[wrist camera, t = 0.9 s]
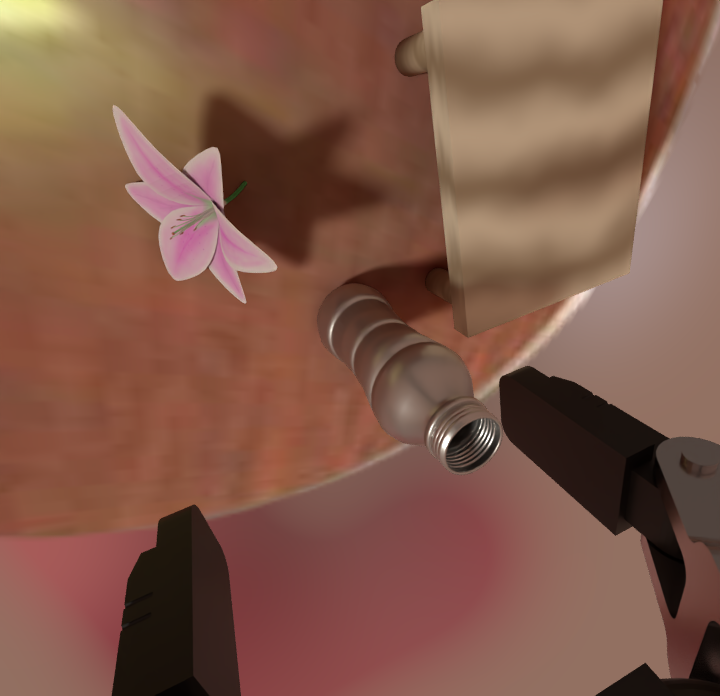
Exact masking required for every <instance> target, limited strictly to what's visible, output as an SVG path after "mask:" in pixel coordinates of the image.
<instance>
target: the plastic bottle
mask: <svg viewBox="0 0 720 696" xmlns="http://www.w3.org/2000/svg"><path fill="white" fill-rule="evenodd" d="M317 326H318V331H319V335H320V338H321V341H322V343H323V345H324V346H325V348H326V349H327V350H328V351H329V352H330V353H331V354H332V355H334V356H335V357H336V358H338V359H339V360H341V361H342V362H344V363H345V365H346V366H347V367H348V368H349V369H350V370H351V371H352V372H353V373H354V375H355V376H356V378H357V379H358V381H359V383H360V384H361V386H362V388H363V389H364V392H365V394H366V396H367V399H368V401H369V403H370V406H371V408H372V410H373V413H374V415H375V417H376V418H377V420H378V422H379V424H380V426H381V427H382V429H383V430H384V431H385V432H386V433H387V434H389V435H390V436H392V437H393V438H395V439H397V440H398V441H400V442H402V443H405V444H409V445H416V446H426V448H427V450H428V451H429V452H430V453H431V455H433V457H434V458H436V459H438V460H439V461H440V462H441V463H442V465H443V466H444V467H445V468H446V469H447V470H448V471H449V472H451V473H453V474H457V475H465V474H469V473H472V472H474V471H476V470H478V469H480V468H481V467H483V466H484V465H485V464H487V463H488V461H490V460H491V459H492V457H493V456H494V455H495V453H496V452H497V450H498V448H499V446H500V444H501V441H502V437H503V428H502V425H501V423H500V422H499V421H498V419H497V418H496V417H495V416H494V415H493V414H491V413H490V412H489V411H488V410H487V408H486V407H485V406H484V404H482V403H481V402H480V401H479V400H477V399H476V398H474V394H473V386H472V379H471V376H470V373H469V371H468V369H467V367H466V365H465V363H464V362H463V360H462V359H461V357H460V356H459V355H458V354H456V353H455V352H454V351H452V350H451V349H449V348H448V347H446V346H444V345H442V344H440V343H438V342H436V341H434V340H432V339H430V338H428V337H426V336H424V335H422V334H420V333H418V332H417V331H416V330H414V329H413V328H411V327H410V326H408V325H407V324H405V323H404V322H403V321H402V320H401V319H400V318H399V317H398V315H397V314H396V313H395V312H394V311H393V309H392V307H391V306H390V304H389V303H388V302H387V300H386V299H385V298H384V296H383V295H382V294H381V293H380V292H379V291H377V290H376V289H374V288H372V287H369V286H366V285H363V284H358V283H350V284H346V285H343V286H340V287H338V288H337V289H335V290H333V291H332V292H331V293H330V294H329V295H328V296H327V297H326V298H325V300H324V301H323V303H322V305H321V307H320V309H319V312H318V317H317Z"/></svg>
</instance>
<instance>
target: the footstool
mask: <svg viewBox="0 0 720 696" xmlns="http://www.w3.org/2000/svg"><path fill="white" fill-rule="evenodd" d="M662 5H663V0H433V1H431V2H429V3H428V4H426V5H424V6H422V7H421V13H422V22H423V31H421V32H419V33H417V34H415V35H412V36H410V37H408V38H406V39H404V40H402V41H401V42H400V43H399V45H398V46H397V48H396V52H395V63H396V66H397V68H398V70H399V72H400V73H401V74H403V75H404V76H408V77H411V76H415V75H418V74H422V73H425V72H428V79H429V89H430V98H431V108H432V118H433V127H434V137H435V146H436V156H437V165H438V175H439V184H440V194H441V204H442V213H443V223H444V232H445V242H446V251H447V261H448V270H449V272H448V271H446V270H444V269H441V268H436V269H433V270H432V271H430V272H429V274H428V275H427V277H426V281H425V284H426V288H427V289H428V290H429V291H430V292H432V293H433V294H435V295H437V296H439V297H440V298H442V299H444V300H445V301H447V302H449V303H450V304H452V309H453V318H454V328H455V329H456V330H457V331H459V332H460V333H462V334H463V335H465V336H466V337H468V338H469V337H471V336H474V335H476V334H479V333H481V332H484V331H486V330H489V329H491V328H494V327H496V326H499V325H501V324H504V323H506V322H509V321H511V320H514V319H516V318H519V317H521V316H524V315H526V314H529V313H531V312H534V311H536V310H539V309H541V308H544V307H546V306H549V305H551V304H554V303H556V302H559V301H561V300H564V299H566V298H569V297H571V296H574V295H576V294H579V293H581V292H584V291H586V290H589V289H591V288H594V287H596V286H599V285H601V284H604V283H606V282H609V281H611V280H614V279H616V278H619V277H621V276H624V275H626V274H629V273H630V264H631V256H632V248H633V240H634V231H635V224H636V216H637V208H638V200H639V192H640V183H641V175H642V167H643V159H644V151H645V143H646V135H647V127H648V119H649V111H650V102H651V94H652V86H653V78H654V70H655V62H656V54H657V46H658V38H659V29H660V21H661V13H662Z"/></svg>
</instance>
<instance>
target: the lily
mask: <svg viewBox="0 0 720 696" xmlns="http://www.w3.org/2000/svg"><path fill="white" fill-rule="evenodd" d="M113 114H114V118H115V122H116V125H117V128H118V131H119V134H120V137H121V140H122V143H123V145H124V147H125V150H126V152H127V154H128V157H129V159H130V161H131V163H132V165H133V167H134V168H135V170H136V172H137V174H138V175H139V176H140V178H141V179H142V180H143V181H144V182H136V183H130V184H127V185H125V188H126V189H127V191H128V193H129V194H130V195H131V197H132V198H133V199H134V200H135V201H136V202H137V203H138V204H139V205H140V206H141V207H142V208H143V209H144V210H146V211H147V212H148V213H149V214H150V215H151V216H152V217H154V218H155V219H157V220H158V221H159V222H161V225H160V229H159V245H160V250H161V254H162V258H163V260H164V263H165V266H166V268H167V270H168V272H169V274H170V275H171V276H172V277H173V279H175V280H178V281H181V280H186V279H189V278H192V277H194V276H196V275H199V274H200V273H201V272H203V271H204V270H205V269H206V268H207V266H208V267H209V269H210V270H211V272H212V273H213V274H214V275H215V277H216V278H217V279H218V280H219V281H220V282H221V283H222V284H223V285H224V286H225V287H226V288H227V289H228V290H229V291H230V292H231V293H232V294H233V295H234V296H235V297H236V298H238V299H239V300H240V301H241V302H243V303H245V304H246V299H245V295H244V292H243V289H242V286H241V283H240V280H239V277H238V274H237V271H236V270H238V271H242V272H251V273H268V272H272V271H275V270H276V269H277V266H276V264H275V263H274V261H273V260H272V259H271V258H270V257H269V256H267V255H266V254H265V253H264V252H263V251H262V250H261V249H259V248H258V247H257V246H256V245H255V244H254V243H252V242H251V241H250V240H249V239H248V238H247V237H245V236H244V235H243V234H242V233H241V232H240V231H238V230H237V229H236V228H235V227H234V226H233V225H232V224H231V223H230V222H229V221H228V220H227V219H226V217H225V214H224V206H225V205H226V204H228V203H229V202H230V201H232V200H233V199H234V198H235V197H236V196H237V195H238V194H239V193H240V192H241V191H242V190H243V189H244V187H245V186H246V185H247V182H246V181H244V182H243V183H242V184H241V185H240V186H239V188H238V189H237V190H236V191H235V192H234V193H233V194H232V195H230V196H229V197H228V198H226V199H224V200H223V184H222V170H221V159H220V153H219V151H218V148H216V147H211V148H208V149H206V150H204V151H203V152H201V153H199V154H198V155H196V156H195V157H194V158H193V159H191V160H190V161H189V162H188V163H187V164H186V166H185V167H184V169H183V172H182V173H181V172H180V171H179V170H178V169H177V168H176V167H175V166H173V165H172V164H171V163H170V162H169V161H168V160H167V159H166V158H165V157H164V156H163V155H162V154H161V153H160V152H159V151H158V150H157V149H155V148H154V147H153V145H152V144H151V143H150V142H149V141H148V140H147V139H146V138H145V136H144V135H143V134H142V133H141V132H140V131H139V130H138V129H137V127H136V126H135V125H134V124H133V123H132V122H131V120H130V119H129V118H128V117H127V116H126V115H125V114H124V113H123V112H122V111H121V110H120V109H119V108H118V107H117V106H115V105H113Z"/></svg>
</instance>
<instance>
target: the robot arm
mask: <svg viewBox="0 0 720 696" xmlns="http://www.w3.org/2000/svg"><path fill="white" fill-rule="evenodd" d="M499 387H500V405H501V422H502V426H503V429H504V431H505V433H506V435H507V437H508V438H509V440H510V441H511V442H512V443H513V444H514V445H515V446H516V447H517V448H519V449H520V450H521V451H522V452H523V453H524V454H525V455H526V456H527V457H528V458H530V459H531V460H532V461H533V462H534V463H535V464H536V465H537V466H538V467H540V468H541V469H542V470H543V471H544V472H545V473H546V474H547V475H549V476H550V477H551V478H552V479H553V480H554V481H555V482H557V484H559V485H560V486H561V487H562V488H563V489H564V490H565V491H566V492H567V493H569V494H570V495H571V496H572V497H573V498H574V499H575V500H576V501H577V502H579V503H580V504H581V505H582V506H583V507H584V508H585V509H586V510H588V511H589V512H590V513H591V514H592V515H593V516H594V517H595V518H597V519H598V520H599V521H600V522H601V523H602V524H603V525H604V526H605V527H607V528H608V529H609V530H610V531H611V532H612V533H613V534H614V535H615V536H616V535H618V534H619V533H621V532H623V531H625V530H627V529H629V528H630V527H632V526H633V527H634V528H636V529H637V530H638V531H639V532H640V533H641V540H640V541H641V546H642V549H643V553H644V556H645V560H646V563H647V567H648V570H649V574H650V577H651V581H652V584H653V587H654V591H655V594H656V598H657V601H658V605H659V608H660V612H661V615H662V618H663V622H664V625H665V630H666V637H667V656H668V664H669V670H670V675H671V678H669V679H659V677H658V676H657V675H656V674H655V673H654V672H653V671H652V670H651V669H650V667H649V666H648V665H647V664H646V663H644V664H643V665H641V666H640V667H638V668H637V669H635V670H634V671H632V672H631V673H629V674H628V675H626V676H624V677H623V678H621V679H620V680H618V681H617V682H615V683H614V684H612V685H611V686H609V687H608V688H606V689H605V690H603V691H602V692H600V693H598V694H597V695H596V696H720V445H719V444H716V443H714V442H711V441H708V440H704V439H700V438H694V437H676V438H671V439H669V438H668V437H665V436H664V435H662V434H661V433H659V432H657V431H656V430H654V429H652V428H651V427H649V426H647V425H646V424H644V423H642V422H640V421H639V420H637V419H635V418H634V417H632V416H630V415H629V414H627V413H625V412H624V411H622V410H620V409H619V408H617V407H615V406H613V405H612V404H608V403H607V401H605V400H604V399H602V398H600V397H599V396H597V395H595V396H594V395H593V394H592V392H590V391H588V390H587V389H585V388H583V387H582V386H580V385H578V384H577V383H575V382H572V381H569V380H565V379H562V378H558V377H555V376H552V377H550V378H549V377H547V376H546V375H544V374H543V373H541V372H539V371H538V370H536V369H535V368H533V367H530V366H525V367H523V368H520V369H518V370H516V371H513V372H511V373H509V374H506V375H504V376H502V377H501V378H500V382H499ZM230 591H231V590H230V580H229V572H228V566H227V562H226V559H225V556H224V553H223V550H222V548H221V546H220V544H219V542H218V541H217V539H216V537H215V536H214V534H213V532H212V530H211V529H210V527H209V526H208V523H207V522H206V520H205V518H204V516H203V515H202V513H201V511H200V510H199V508H198V507H197V506H196V505H192V506H189V507H187V508H185V509H182V510H180V511H177V512H175V513H173V514H170V515H168V516H166V517H163V518H161V519H160V520H159V523H158V531H157V544H156V547H155V548H152V549H150V550H148V551H145V552H143V553H141V554H140V556H139V559H138V561H137V562H136V564H135V566H134V568H133V570H132V572H131V574H130V576H129V578H128V582H127V589H126V597H125V609H124V611H123V618H122V625H121V626H122V631H121V633H120V640H119V647H118V654H117V662H116V669H115V676H114V683H113V690H112V696H241V692H240V682H239V672H238V662H237V652H236V642H235V632H234V621H233V611H232V601H231V592H230Z"/></svg>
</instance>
